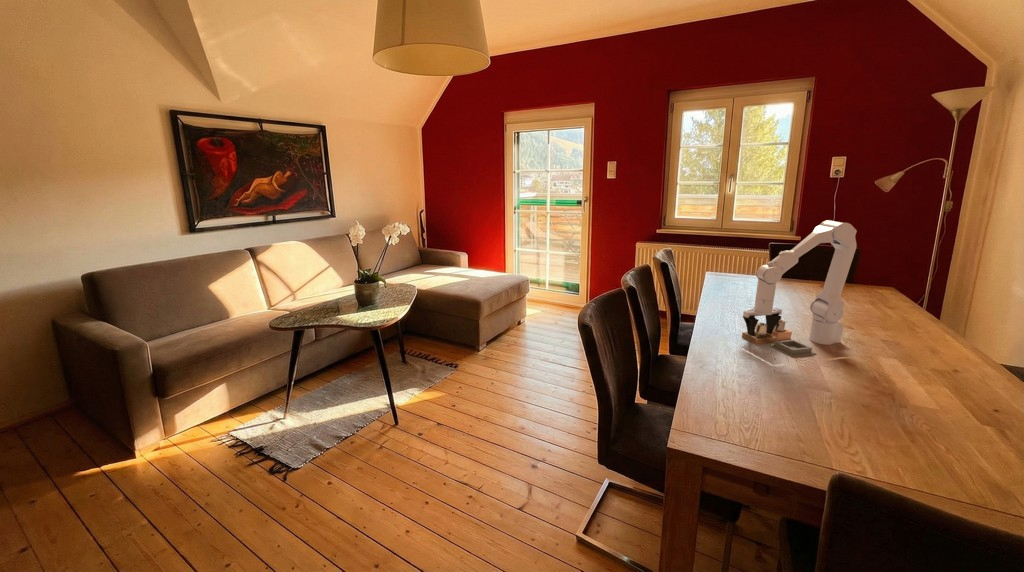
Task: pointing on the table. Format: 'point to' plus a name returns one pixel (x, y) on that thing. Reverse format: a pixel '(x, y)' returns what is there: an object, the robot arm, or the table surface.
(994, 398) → the table surface
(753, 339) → the brown square tray
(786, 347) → the cradle
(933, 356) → the table surface
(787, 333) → the orange square box
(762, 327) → the cell
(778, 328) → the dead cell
